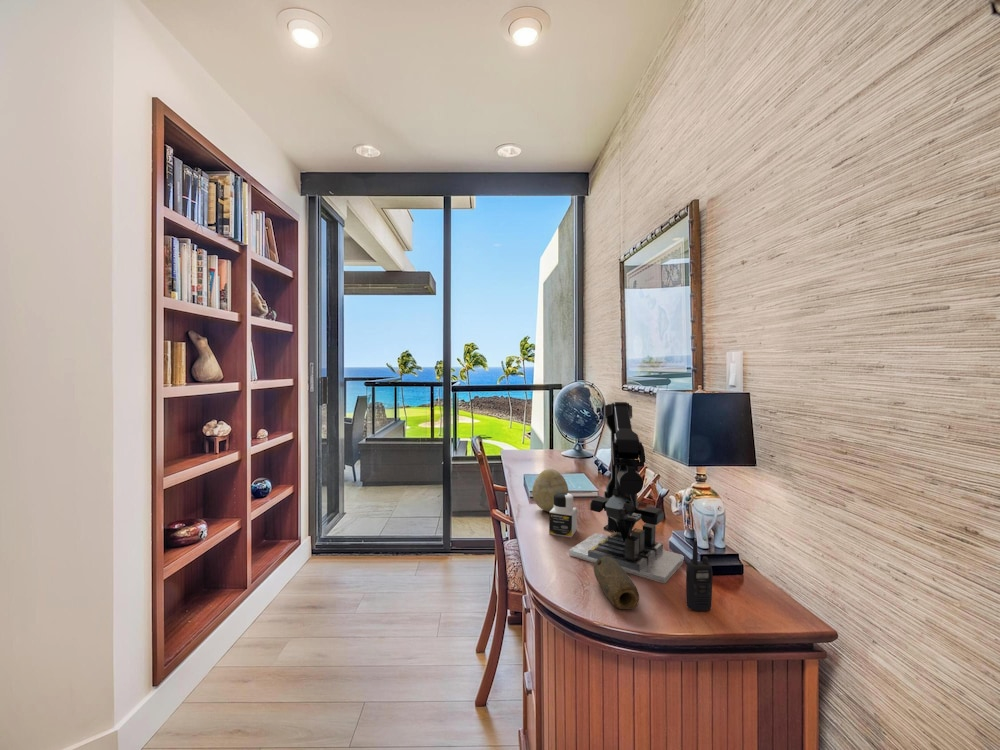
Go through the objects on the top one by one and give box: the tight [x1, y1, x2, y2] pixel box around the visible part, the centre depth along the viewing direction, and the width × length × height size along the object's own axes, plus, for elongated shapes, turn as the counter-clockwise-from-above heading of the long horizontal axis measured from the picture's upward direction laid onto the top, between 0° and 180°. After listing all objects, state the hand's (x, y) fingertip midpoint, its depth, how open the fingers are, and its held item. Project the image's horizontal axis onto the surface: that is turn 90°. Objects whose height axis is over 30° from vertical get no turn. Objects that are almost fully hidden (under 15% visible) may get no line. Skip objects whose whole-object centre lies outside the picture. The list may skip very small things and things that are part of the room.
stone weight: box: [593, 556, 640, 610], centre depth 105 cm, size 15×7×7 cm, turn 10°
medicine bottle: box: [548, 492, 578, 538], centre depth 143 cm, size 7×7×12 cm
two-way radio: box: [685, 539, 714, 612], centre depth 100 cm, size 6×4×15 cm
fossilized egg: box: [532, 468, 569, 512], centre depth 164 cm, size 13×13×15 cm
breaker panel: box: [568, 523, 684, 584], centre depth 124 cm, size 17×26×8 cm, turn 52°
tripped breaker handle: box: [630, 527, 645, 552], centre depth 122 cm, size 3×2×5 cm
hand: (625, 541), depth 125 cm, fingers closed
